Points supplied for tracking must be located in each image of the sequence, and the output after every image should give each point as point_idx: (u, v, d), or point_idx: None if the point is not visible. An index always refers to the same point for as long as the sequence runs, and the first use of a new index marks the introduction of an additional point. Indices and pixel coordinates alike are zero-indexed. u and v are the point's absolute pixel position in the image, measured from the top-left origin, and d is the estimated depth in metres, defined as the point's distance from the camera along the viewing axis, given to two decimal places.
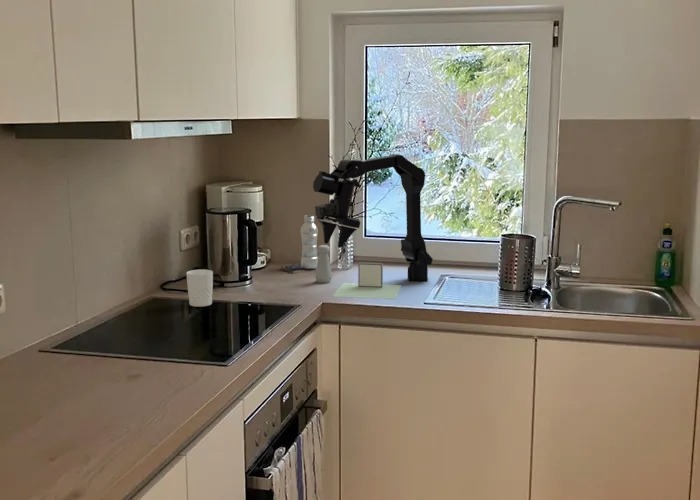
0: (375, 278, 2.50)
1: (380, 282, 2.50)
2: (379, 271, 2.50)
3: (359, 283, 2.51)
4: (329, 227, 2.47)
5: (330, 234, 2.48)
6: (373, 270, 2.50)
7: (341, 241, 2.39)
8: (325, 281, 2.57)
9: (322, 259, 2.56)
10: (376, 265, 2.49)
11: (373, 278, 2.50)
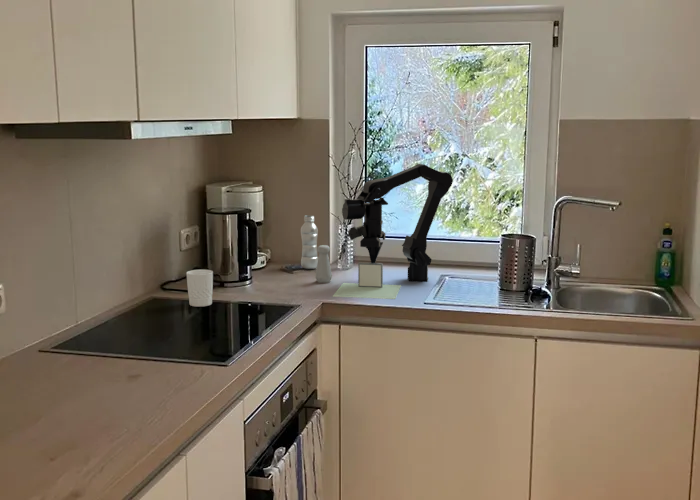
0: (375, 278, 2.50)
1: (380, 282, 2.50)
2: (379, 271, 2.50)
3: (359, 283, 2.51)
4: None
5: None
6: (373, 270, 2.50)
7: (372, 258, 2.55)
8: (325, 281, 2.57)
9: (322, 259, 2.56)
10: (376, 265, 2.49)
11: (373, 278, 2.50)
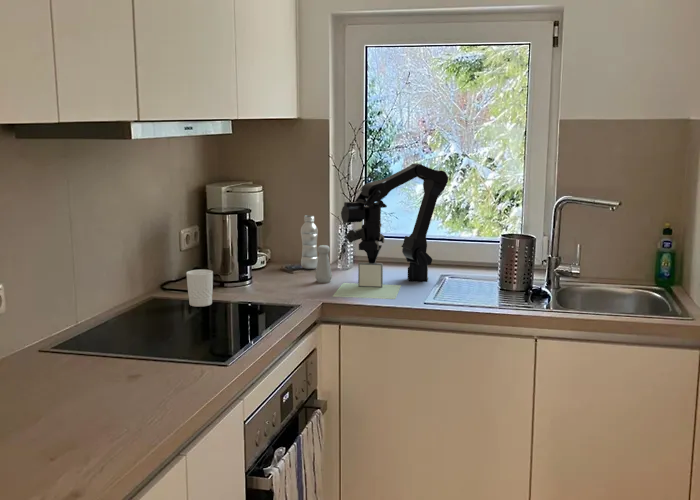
0: (375, 278, 2.50)
1: (380, 282, 2.50)
2: (379, 271, 2.50)
3: (359, 283, 2.51)
4: None
5: None
6: (373, 270, 2.50)
7: (370, 261, 2.53)
8: (325, 281, 2.57)
9: (322, 259, 2.56)
10: (376, 265, 2.49)
11: (373, 278, 2.50)
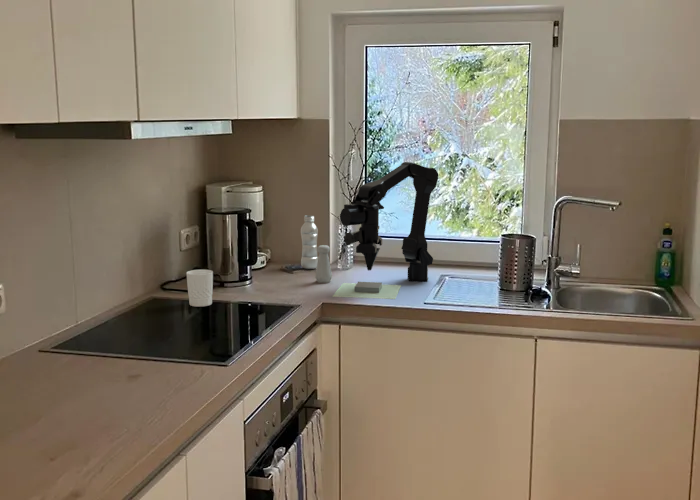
0: None
1: None
2: None
3: None
4: None
5: None
6: None
7: (368, 264, 2.47)
8: (325, 281, 2.57)
9: (322, 259, 2.56)
10: (373, 292, 2.43)
11: None
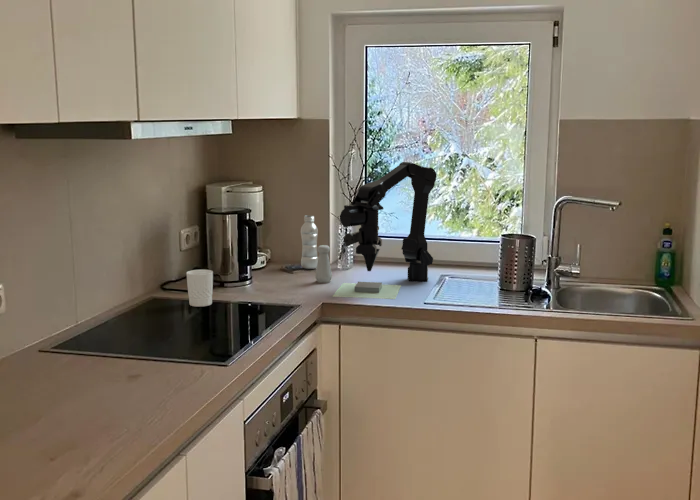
0: None
1: None
2: None
3: None
4: None
5: None
6: None
7: (368, 265, 2.46)
8: (325, 281, 2.57)
9: (322, 259, 2.56)
10: (373, 292, 2.43)
11: None
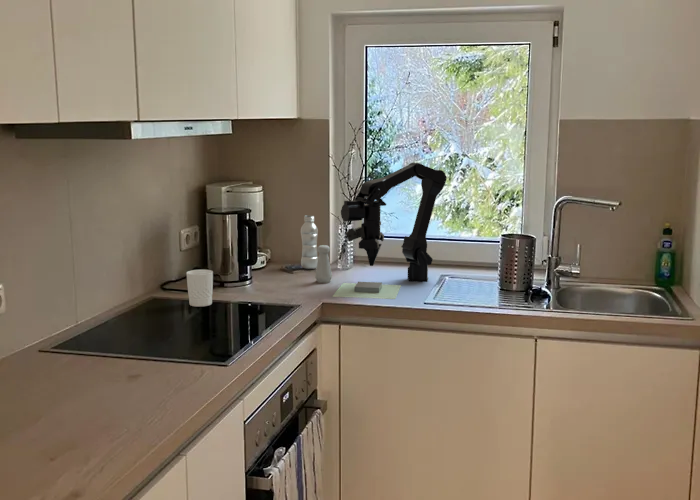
0: None
1: None
2: None
3: None
4: None
5: None
6: None
7: (370, 260, 2.52)
8: (325, 281, 2.57)
9: (322, 259, 2.56)
10: (373, 292, 2.43)
11: None
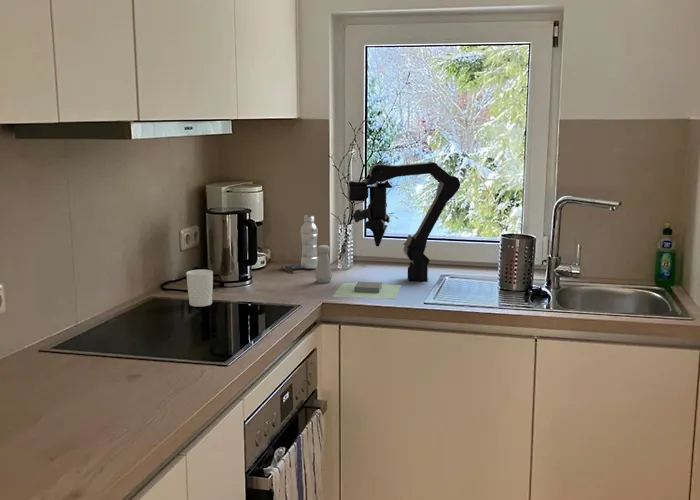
0: None
1: None
2: None
3: None
4: None
5: None
6: None
7: (376, 241, 2.58)
8: (325, 281, 2.57)
9: (322, 259, 2.56)
10: (373, 292, 2.43)
11: None
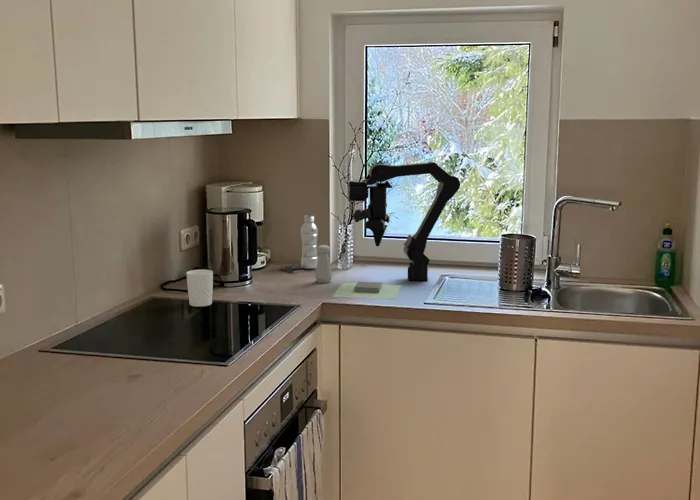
0: None
1: None
2: None
3: None
4: None
5: None
6: None
7: (376, 241, 2.58)
8: (325, 281, 2.57)
9: (322, 259, 2.56)
10: (373, 292, 2.43)
11: None
